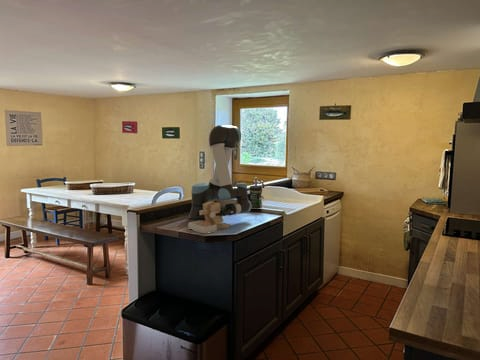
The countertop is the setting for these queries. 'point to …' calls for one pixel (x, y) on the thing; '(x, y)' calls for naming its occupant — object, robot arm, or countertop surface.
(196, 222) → the beige rounded slab
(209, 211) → the block
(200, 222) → the tile
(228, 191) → the robot arm
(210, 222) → the tile
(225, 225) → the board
